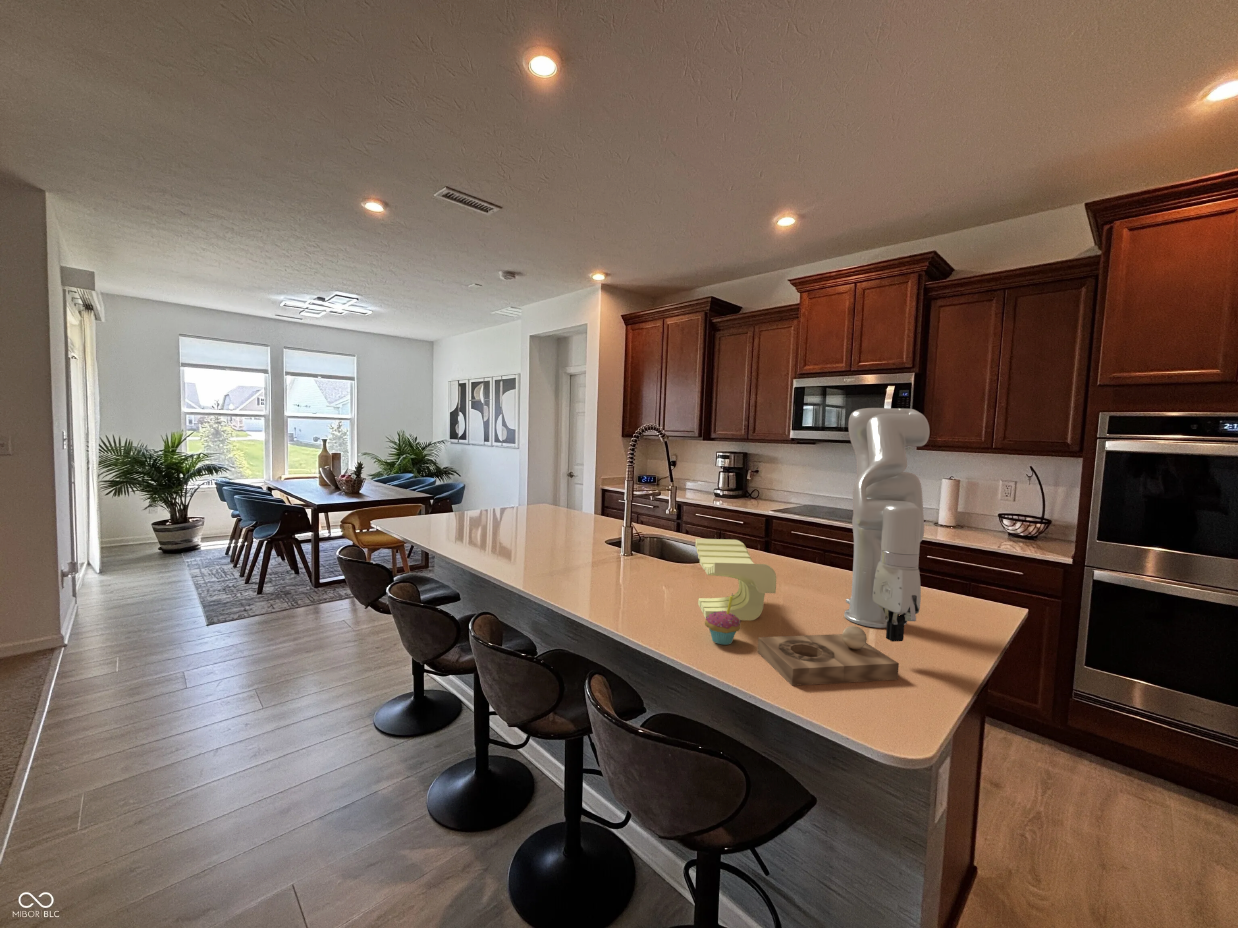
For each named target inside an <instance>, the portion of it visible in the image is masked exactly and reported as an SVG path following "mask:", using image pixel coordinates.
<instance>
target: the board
mask: <svg viewBox="0 0 1238 928" xmlns="http://www.w3.org/2000/svg"><path fill="white" fill-rule="evenodd" d="M757 653H758V654H759V655H760V656H761V657H762V658H763V659H764V660H765V661H766V662H767V663H768V664H769V665H770V666H771V667H772V669H774V670H775V671H776V672H778V674H780V676H782V677H783V678H784V680H786V681H787V682H788V683H789V684H790V685H791V686H805V685H807V686H809V685H822V684H842V683H843V684H845V683H859V682H878V681H879V682H880V681H894V680H895V681H896V680H898V679H899V667H900V666H899V665H900V663H899V662H897V661H896V660H894V659H893V658H891V657H890V656H888V655H886V654H884V653H883V652H881V651H880V650H879V649H877V648H875V647H874V646H872V645H870V644H869V643H867V642H866V644H865V645H864V647H862V648H860V649H851V648H849V647H848V646H846V645H845V643H844V642H843V639H842V633H835V634H833V633H832V634H811V635H808V634H807V635H788V636H785V635H784V636H783V635H782V636H762V637H761V636H760V637H757Z"/></svg>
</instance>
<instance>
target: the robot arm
mask: <svg viewBox="0 0 1238 928" xmlns="http://www.w3.org/2000/svg"><path fill="white" fill-rule="evenodd" d="M930 430H931V429H930V424H929V422H928V419H927V418H926V416H925V415H924V414H923V413H921V412H919V411H918V410H916V409H914V408H893V407H891V408H889V407H867V408H859V409H856V410H854V411H852V412H851V413H850V415H849V418H848V435H849V439H850V443H851V446H852V448H853V451H854V454H855V457H856V481H855V483H854V485H853V490H852V508H853V509H852V511H853V512H852V513H853V514H852V520H851V523H852V532H853V533H852V535H853V564H852V577H851V578H852V583H851V596H850V598H846V599H845V603H846V604H848V605H849V607H848V608H849V609H846V610H845V611H844V613H843V614H844V618H845V619H846V620H847V621H849V622H852V623H854V624H857V625H860V626H864V627H871V628H875V629H877V628H881V629H885V630H886V631H885V638H886V640H889V641H890V642H892V643H893V642H904V638H905V637H904V635H905V625H907V623H908V622H916V621H917V614H919V613H920V609H921V597H922V596H921V594H922V590H921V576H920V574H921V573H920V569H919V562H920V561H919V559H920V558H919V557H920V546H921V542H922V541H923V539H924V533H925V518H924V515H925V514H924V503H923V502H924V501H923V490H922V489H923V487H922V483H921V480H920V478H919V477H918V475H916V474H915V473H913V472H909V471H905V470H906V469H907V467H908V459H907V451H906V447H923V446H925V445H926V444H927V442H928V441H929V438H930V434H931V433H930Z"/></svg>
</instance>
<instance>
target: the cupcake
mask: <svg viewBox="0 0 1238 928" xmlns="http://www.w3.org/2000/svg"><path fill="white" fill-rule="evenodd" d="M732 595H734V593H733V592H732V593H731V595H730V599H729V604H728V609H727V612H726V611H720V612H713V613H711V614H709V615H708V616H707V617H706V618H705V621H704V626H705V627H706V628H708V629H709V633H710V636H711V640H712V642H713V643H716V644H718V645H724V646H726V645H730V644H732V643H733V640H734V638H735V635H736V633H737V632H739V631H740V629H741V627H742V625H741V622H742V620H740V619H739V618H737V617H736V616H735V615H733V614H732V613H730V608H731V603H732V598H733V596H732Z"/></svg>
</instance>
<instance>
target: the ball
mask: <svg viewBox="0 0 1238 928" xmlns="http://www.w3.org/2000/svg"><path fill="white" fill-rule="evenodd" d="M841 634H842V639H843V642H844V643H845V645H846V646H848V647H849V648H851V649H860V648H862V647H864V645H865V644H866V643H867V640H868V638H867V634H866V632H865V631H864V630H863V628H861V627H859V626H858V625H849V626H846V627H845V628H844V629H843V631H842V633H841Z"/></svg>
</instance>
